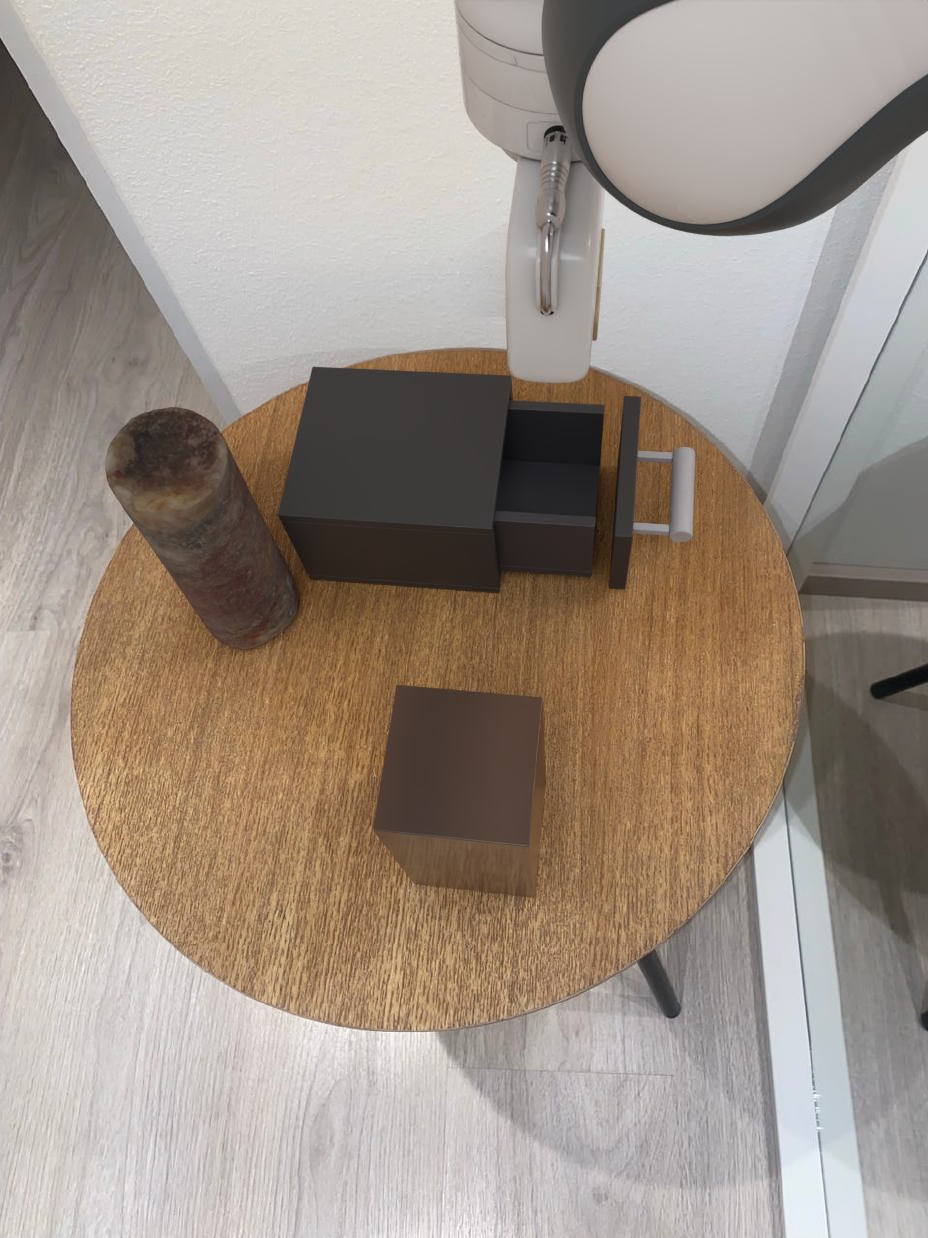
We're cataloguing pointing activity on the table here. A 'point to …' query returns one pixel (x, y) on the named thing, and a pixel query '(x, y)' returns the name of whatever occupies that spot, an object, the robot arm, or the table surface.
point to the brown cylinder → (202, 524)
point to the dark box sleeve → (398, 478)
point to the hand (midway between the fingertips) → (563, 296)
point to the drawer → (576, 489)
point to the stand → (464, 789)
